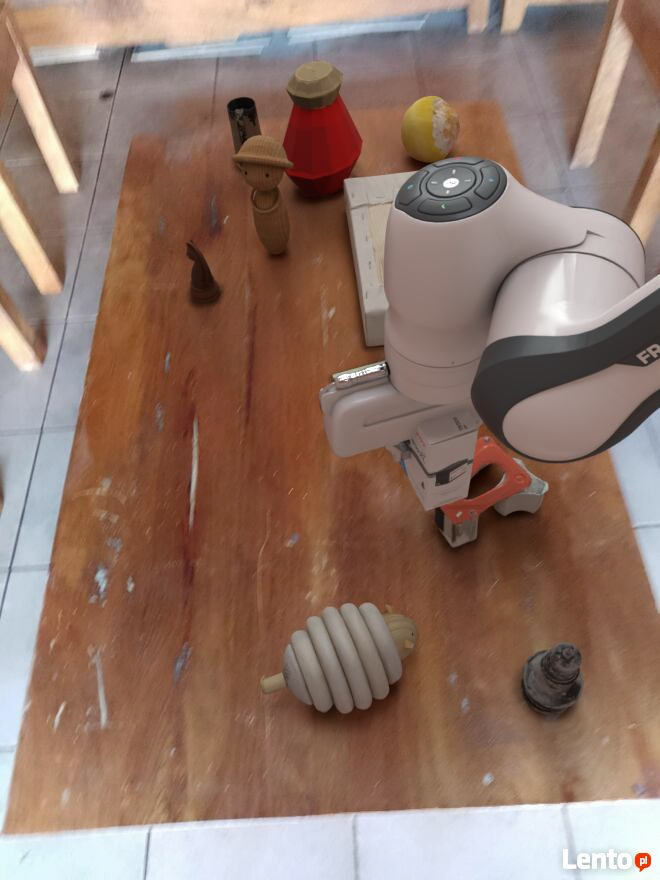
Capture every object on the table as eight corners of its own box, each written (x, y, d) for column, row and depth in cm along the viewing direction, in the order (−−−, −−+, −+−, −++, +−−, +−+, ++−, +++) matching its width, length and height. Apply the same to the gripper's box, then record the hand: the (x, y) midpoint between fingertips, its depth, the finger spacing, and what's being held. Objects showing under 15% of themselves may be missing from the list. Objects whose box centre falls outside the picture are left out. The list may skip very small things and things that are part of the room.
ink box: (390, 447, 76) (390, 376, 66) (433, 433, 76) (439, 360, 67) (424, 513, 71) (429, 446, 61) (469, 497, 71) (481, 428, 62)
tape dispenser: (424, 411, 98) (384, 532, 86) (424, 384, 94) (382, 508, 82) (556, 435, 93) (533, 566, 82) (562, 407, 89) (539, 542, 78)
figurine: (244, 262, 116) (220, 151, 100) (259, 233, 120) (237, 122, 104) (297, 269, 115) (281, 157, 98) (310, 239, 118) (296, 127, 102)
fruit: (405, 177, 126) (405, 124, 118) (397, 142, 132) (397, 89, 124) (463, 170, 126) (467, 117, 118) (452, 136, 132) (456, 83, 124)
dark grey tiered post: (517, 658, 77) (534, 616, 67) (573, 663, 76) (599, 621, 66) (519, 715, 73) (537, 680, 63) (578, 720, 72) (606, 686, 63)
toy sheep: (438, 685, 76) (444, 650, 66) (293, 761, 72) (278, 735, 63) (391, 601, 81) (390, 558, 72) (254, 668, 78) (235, 631, 69)
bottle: (323, 147, 133) (313, 36, 117) (380, 172, 127) (378, 59, 111) (265, 190, 127) (246, 80, 111) (322, 219, 121) (311, 106, 105)
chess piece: (209, 279, 115) (194, 228, 107) (228, 294, 112) (215, 244, 104) (186, 294, 113) (169, 243, 105) (204, 310, 111) (189, 259, 103)
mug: (237, 153, 134) (224, 91, 124) (266, 150, 134) (256, 88, 124) (235, 179, 130) (222, 117, 120) (265, 176, 129) (255, 113, 120)
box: (527, 332, 103) (479, 195, 122) (535, 293, 97) (483, 154, 115) (367, 354, 104) (343, 213, 122) (364, 316, 97) (340, 174, 116)
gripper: (327, 413, 56) (338, 502, 67) (570, 345, 58) (541, 442, 69) (306, 356, 59) (320, 450, 70) (535, 293, 61) (513, 394, 73)
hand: (431, 446), depth 70 cm, fingers closed on ink box, 5 cm apart
